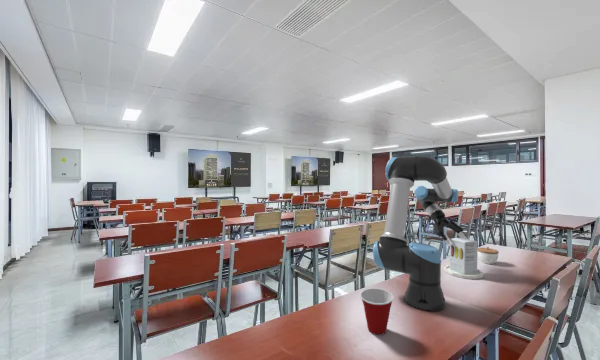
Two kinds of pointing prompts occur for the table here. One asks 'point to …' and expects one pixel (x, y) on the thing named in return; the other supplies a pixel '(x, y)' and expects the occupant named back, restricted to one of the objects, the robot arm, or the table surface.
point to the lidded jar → (487, 255)
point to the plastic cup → (377, 308)
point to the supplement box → (463, 255)
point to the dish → (466, 276)
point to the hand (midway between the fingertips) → (459, 243)
